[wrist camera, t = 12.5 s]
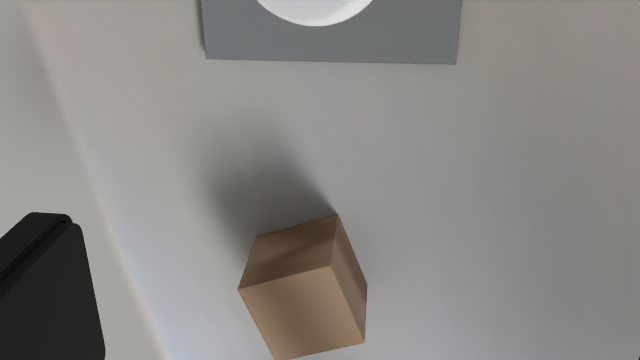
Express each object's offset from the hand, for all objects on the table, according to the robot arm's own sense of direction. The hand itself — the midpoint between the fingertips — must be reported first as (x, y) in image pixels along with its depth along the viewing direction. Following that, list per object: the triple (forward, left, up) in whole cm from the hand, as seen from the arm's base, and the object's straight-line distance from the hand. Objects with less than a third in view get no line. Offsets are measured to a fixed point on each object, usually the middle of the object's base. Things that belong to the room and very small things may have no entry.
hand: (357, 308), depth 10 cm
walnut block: (+3, +14, -21) cm, 25 cm away
